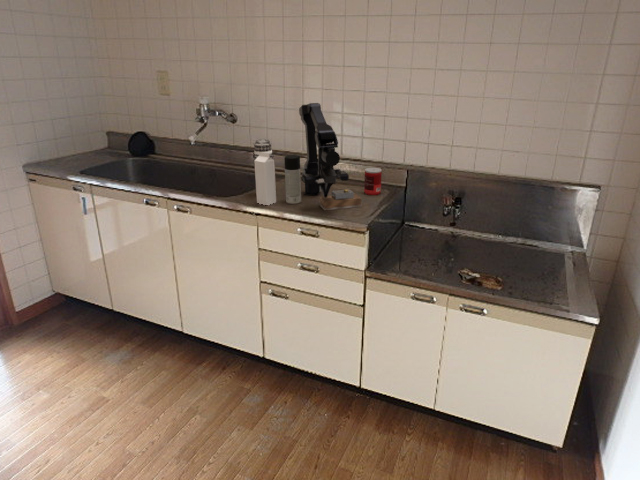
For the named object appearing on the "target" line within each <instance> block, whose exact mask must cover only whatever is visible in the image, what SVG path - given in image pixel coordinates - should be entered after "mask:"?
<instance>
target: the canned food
mask: <svg viewBox="0 0 640 480" xmlns="http://www.w3.org/2000/svg"><path fill="white" fill-rule="evenodd" d="M382 170H383V169H381V168H380V167H367V168H365V169H364V186H363V187H364V190H363V191H364V194H366V195H368V196H378V195H381V191H382V176H383V174H382V172H383V171H382Z"/></svg>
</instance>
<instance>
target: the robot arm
mask: <svg viewBox="0 0 640 480" xmlns="http://www.w3.org/2000/svg"><path fill="white" fill-rule="evenodd" d="M321 107H322V106H321V103H318V102H310V103H307V104H301V106H299V108H298V113H299V114H298V115H299V116H300V120H301V122H302V123H303V125H304V128H305V143H306V146H305V147H306V161H305V163H304V165H303V166H304V167H303V170H302V172H301V173H302V174H301V182H302V183H304V192H303V194H304V195H306V196H318V195H320V193H322V194H323V197H325V198H327V196H329V192H330V190H331V187H332V186H333V185H334V184H336V182H337V180H338V179H340V181H342V182H346V181H349V180H350V179H349V178H350V175H349V173H348V172H347V171H344V170H341V169H340V168H336V169H334V167H336V166H337V165H338V164H339V162H340V160H341V157H340V154H339V152H338V151H336V149H335V148H338V147H339V146H338V145H339V140H338V137H337V134H336V132H335V131H334V129H333V127H332V125H329V124H327V122H326V119H325V117H324V113H323V111H322V108H321Z"/></svg>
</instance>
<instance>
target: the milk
mask: <svg viewBox="0 0 640 480" xmlns="http://www.w3.org/2000/svg"><path fill="white" fill-rule="evenodd" d="M272 158H273V157H272ZM272 158H270V157H269V153H263V152H259V156H258V157H257V158H256V159H255V158H254V159H255V160H254V159H253V164H254V163H255V166H254V168H255V169H254V176H255V177H254V178H255V180H256V182H255V193H256V194H257V195H256V204H257V203H259V204H258V205H261V204H263V205H262V206H265V205H268V206H270V204H271V205H274V204H276V203H277V192H276V190H277V189H276V168H275V158H273V159H272ZM273 203H274V204H273Z"/></svg>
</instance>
